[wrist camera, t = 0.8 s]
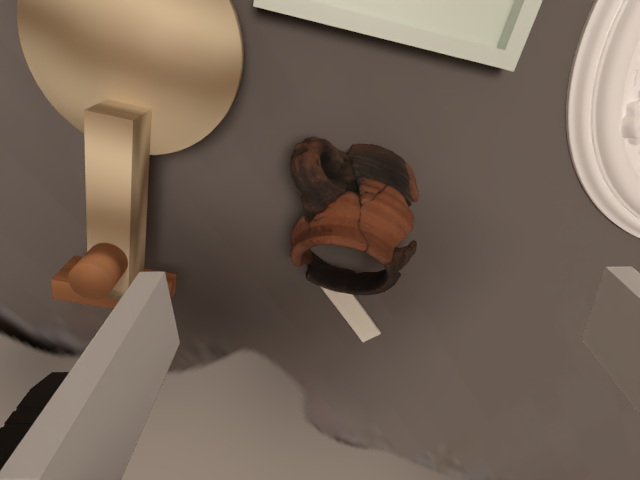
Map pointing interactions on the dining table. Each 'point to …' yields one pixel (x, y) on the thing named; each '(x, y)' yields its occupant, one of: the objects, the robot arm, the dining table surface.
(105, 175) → the crank
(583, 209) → the dining table surface
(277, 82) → the dining table surface
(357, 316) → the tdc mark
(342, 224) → the pottery mug
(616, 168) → the ceiling medallion
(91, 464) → the robot arm
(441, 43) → the tray
